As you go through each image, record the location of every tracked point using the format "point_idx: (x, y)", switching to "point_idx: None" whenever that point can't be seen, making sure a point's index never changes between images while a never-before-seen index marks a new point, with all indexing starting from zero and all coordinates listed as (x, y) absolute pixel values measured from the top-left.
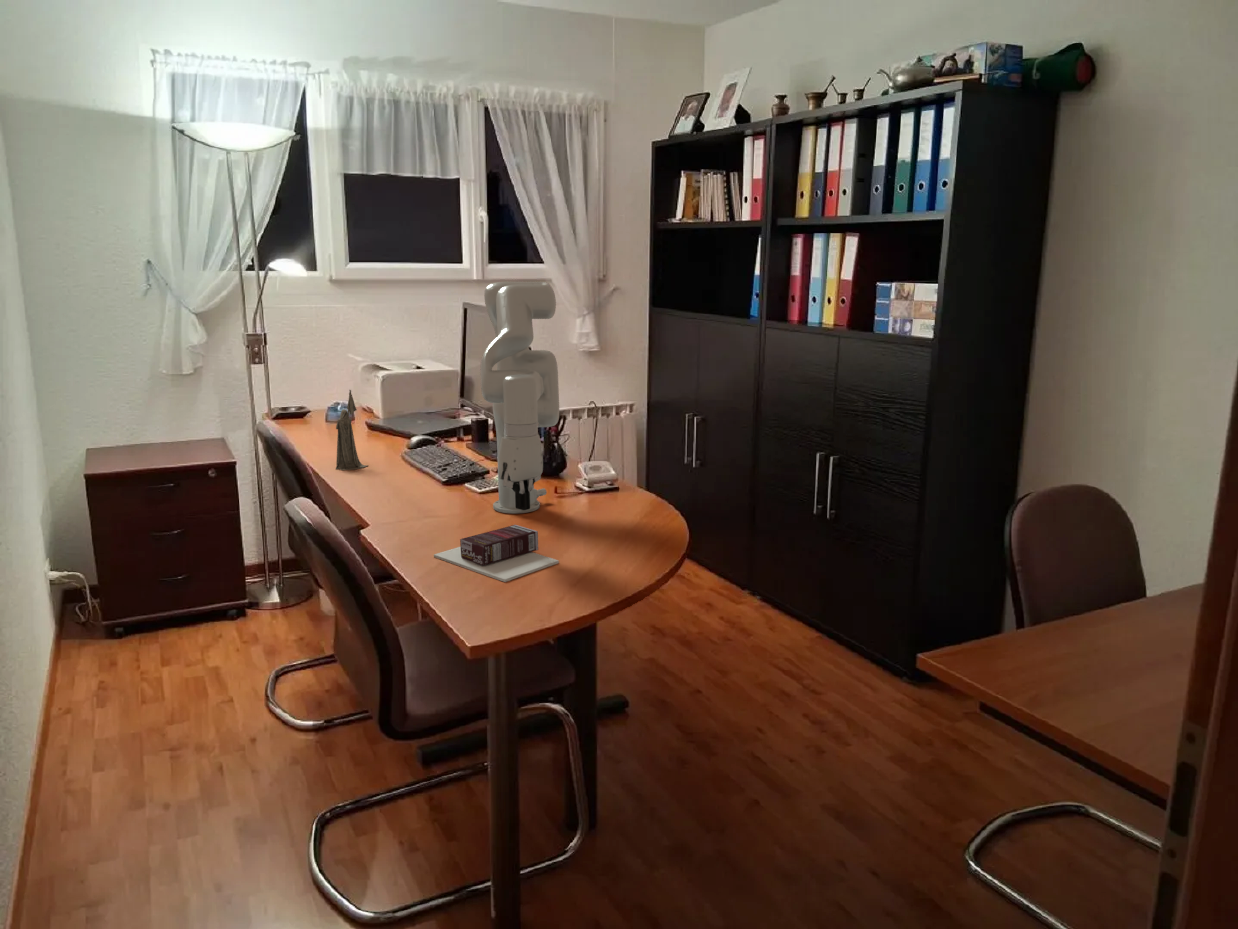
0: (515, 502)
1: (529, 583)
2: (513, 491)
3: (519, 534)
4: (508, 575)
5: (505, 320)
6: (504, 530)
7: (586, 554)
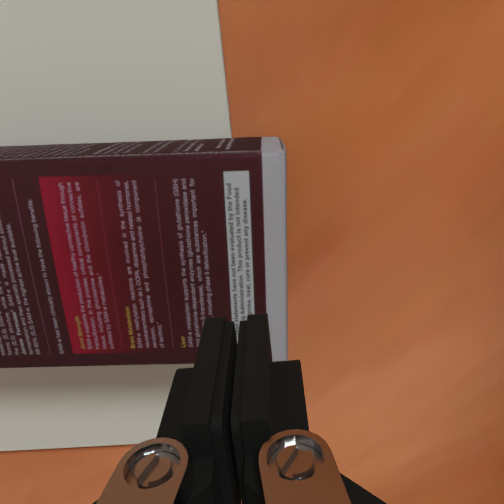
0: (200, 341)
1: (63, 493)
2: (134, 452)
3: (168, 345)
4: (19, 433)
5: None
6: (144, 223)
7: (413, 427)
